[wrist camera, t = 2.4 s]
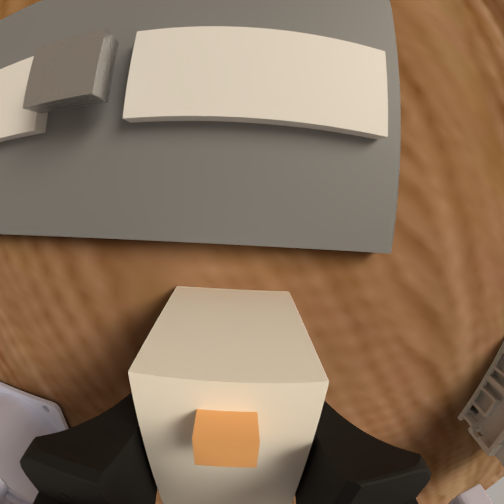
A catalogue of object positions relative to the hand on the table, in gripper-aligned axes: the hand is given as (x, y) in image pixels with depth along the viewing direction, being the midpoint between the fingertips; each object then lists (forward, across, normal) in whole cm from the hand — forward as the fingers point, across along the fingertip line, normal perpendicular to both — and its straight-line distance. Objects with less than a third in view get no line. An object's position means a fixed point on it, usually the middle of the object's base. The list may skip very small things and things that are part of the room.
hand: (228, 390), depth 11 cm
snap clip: (-1, +6, -12) cm, 13 cm away
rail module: (+1, 0, 0) cm, 1 cm away
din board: (+1, +6, -12) cm, 13 cm away
